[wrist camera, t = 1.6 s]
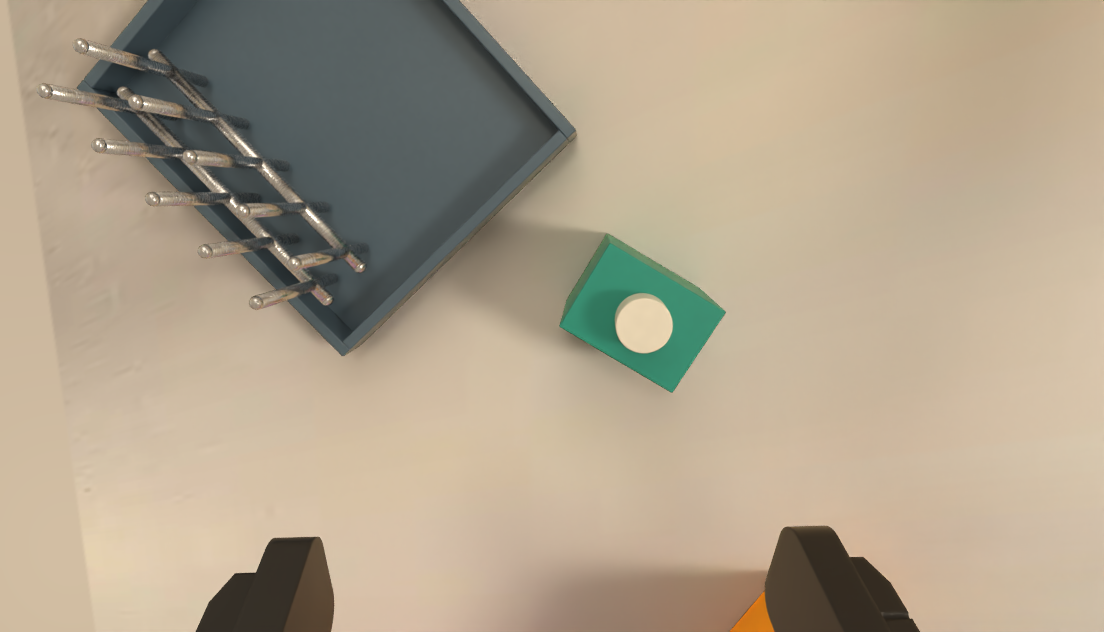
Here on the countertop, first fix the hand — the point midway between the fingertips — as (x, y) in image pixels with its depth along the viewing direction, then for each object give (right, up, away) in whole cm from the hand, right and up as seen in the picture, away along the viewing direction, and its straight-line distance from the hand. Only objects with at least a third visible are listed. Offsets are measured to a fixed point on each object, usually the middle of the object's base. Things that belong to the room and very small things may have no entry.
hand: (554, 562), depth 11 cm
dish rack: (-15, +12, +23) cm, 30 cm away
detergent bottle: (+4, +6, +24) cm, 25 cm away
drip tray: (-11, +15, +23) cm, 30 cm away
